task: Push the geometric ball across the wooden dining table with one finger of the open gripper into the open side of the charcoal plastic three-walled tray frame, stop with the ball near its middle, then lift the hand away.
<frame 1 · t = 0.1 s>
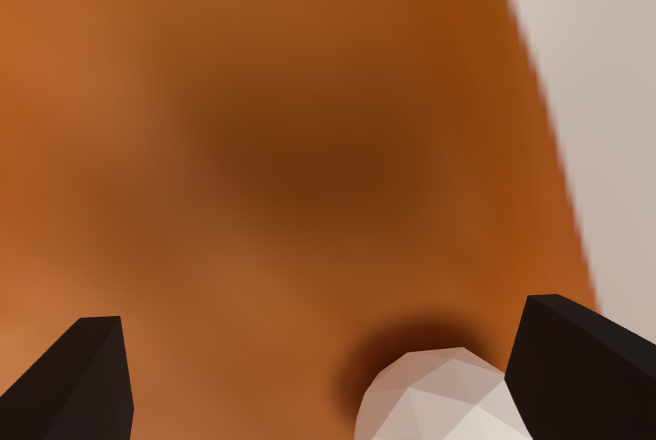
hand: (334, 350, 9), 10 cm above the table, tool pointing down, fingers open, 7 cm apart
geometric ball: (415, 376, 24), on the table
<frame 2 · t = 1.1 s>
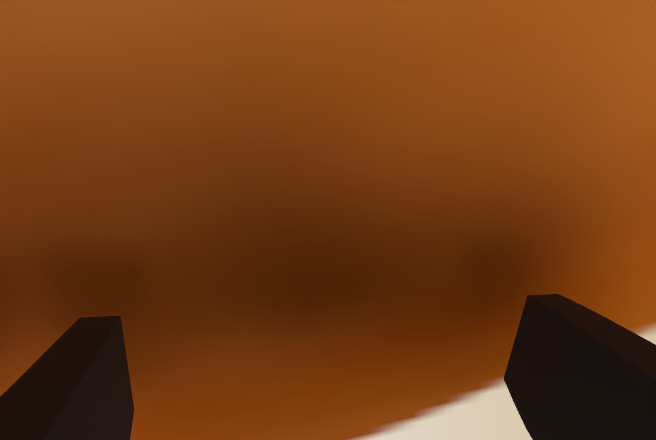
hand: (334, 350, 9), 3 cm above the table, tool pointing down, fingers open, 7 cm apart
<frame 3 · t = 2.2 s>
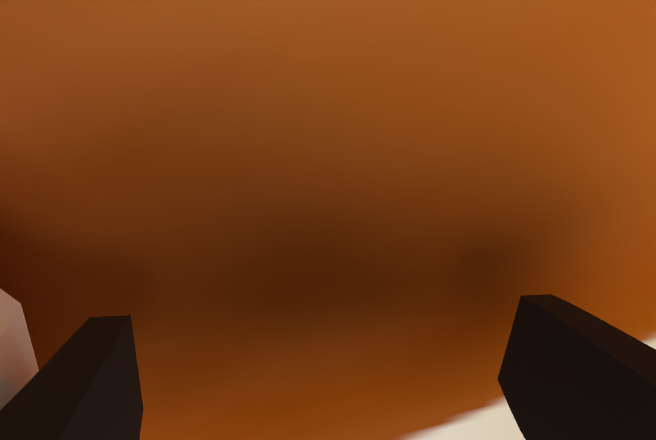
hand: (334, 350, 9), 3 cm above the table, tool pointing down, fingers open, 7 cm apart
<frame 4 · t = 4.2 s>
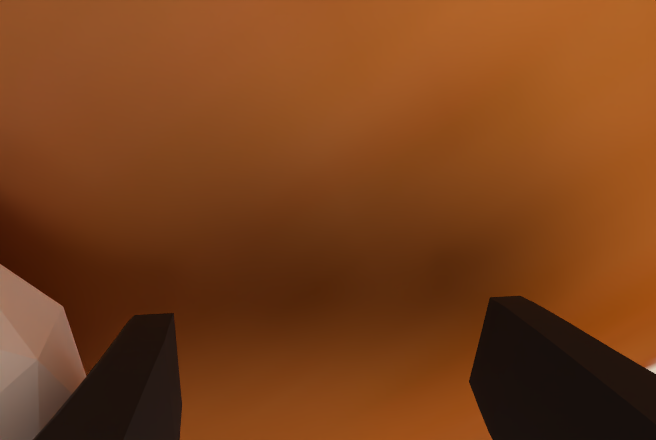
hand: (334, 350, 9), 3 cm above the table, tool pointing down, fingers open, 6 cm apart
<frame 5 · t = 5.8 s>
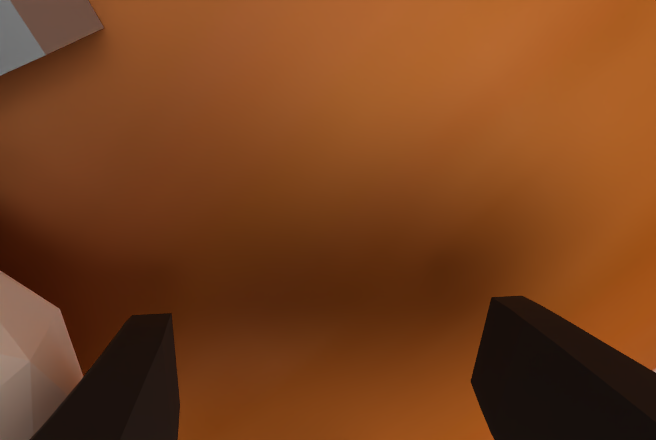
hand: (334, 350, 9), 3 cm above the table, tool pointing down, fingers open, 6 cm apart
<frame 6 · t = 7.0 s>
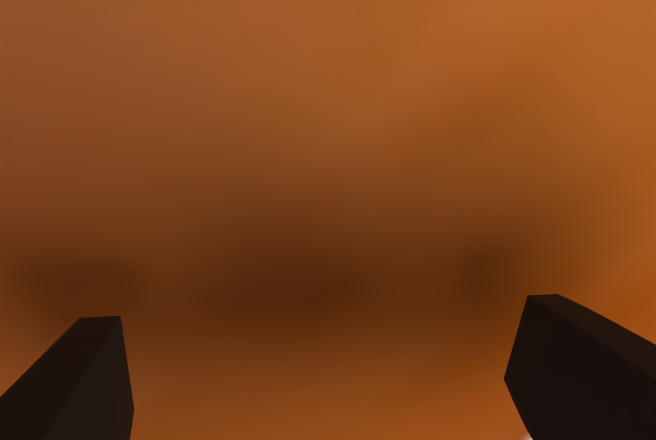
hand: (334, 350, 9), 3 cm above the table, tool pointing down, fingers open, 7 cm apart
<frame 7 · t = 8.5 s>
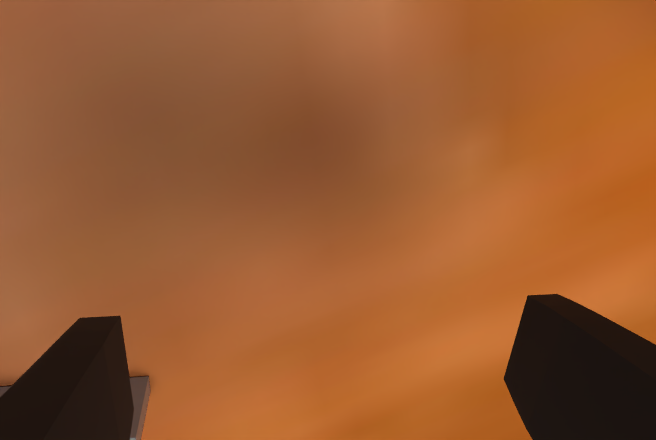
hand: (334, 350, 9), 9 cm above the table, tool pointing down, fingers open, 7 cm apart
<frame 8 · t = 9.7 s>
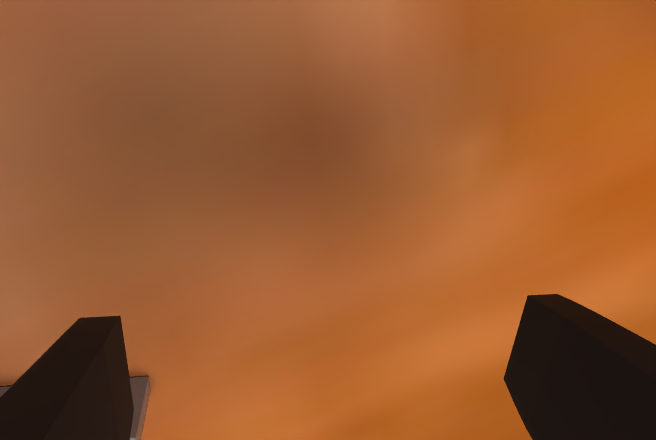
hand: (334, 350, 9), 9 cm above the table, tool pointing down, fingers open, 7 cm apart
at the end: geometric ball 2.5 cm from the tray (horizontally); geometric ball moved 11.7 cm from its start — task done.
